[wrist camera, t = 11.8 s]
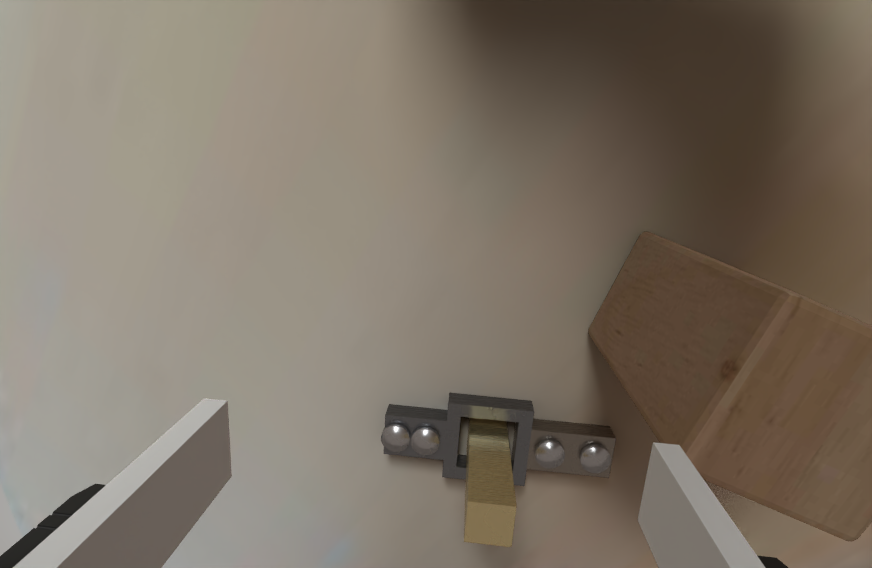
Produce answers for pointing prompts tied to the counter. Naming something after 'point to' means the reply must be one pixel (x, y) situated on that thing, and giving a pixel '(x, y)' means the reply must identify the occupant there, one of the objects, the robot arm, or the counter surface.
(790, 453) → the wooden block
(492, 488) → the pin
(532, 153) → the counter surface
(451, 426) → the ball-studded metal bracket
